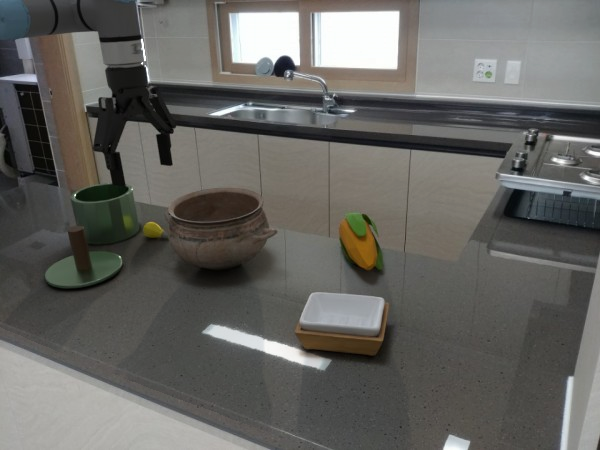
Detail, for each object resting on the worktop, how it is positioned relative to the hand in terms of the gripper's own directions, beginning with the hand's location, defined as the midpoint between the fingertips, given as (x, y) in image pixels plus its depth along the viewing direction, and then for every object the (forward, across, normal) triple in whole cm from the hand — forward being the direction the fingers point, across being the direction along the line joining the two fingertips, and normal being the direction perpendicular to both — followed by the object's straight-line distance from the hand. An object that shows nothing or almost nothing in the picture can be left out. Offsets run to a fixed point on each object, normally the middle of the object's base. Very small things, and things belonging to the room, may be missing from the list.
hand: (144, 174), depth 108 cm
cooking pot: (+15, -2, -19) cm, 24 cm away
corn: (+15, +10, -43) cm, 47 cm away
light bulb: (+15, +2, +1) cm, 15 cm away
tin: (+15, 0, +13) cm, 20 cm away
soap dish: (+16, -15, -50) cm, 54 cm away
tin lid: (+14, -16, +3) cm, 22 cm away
